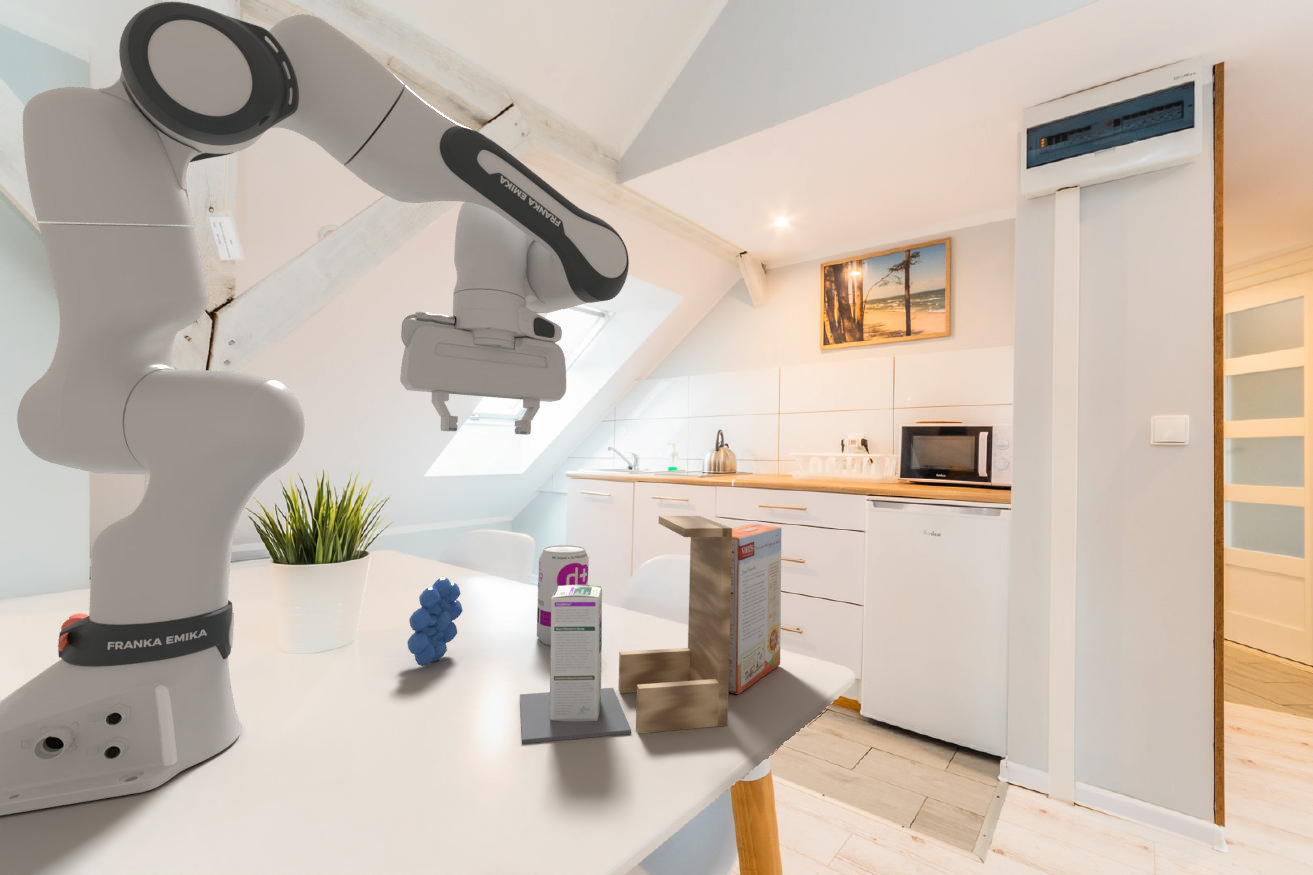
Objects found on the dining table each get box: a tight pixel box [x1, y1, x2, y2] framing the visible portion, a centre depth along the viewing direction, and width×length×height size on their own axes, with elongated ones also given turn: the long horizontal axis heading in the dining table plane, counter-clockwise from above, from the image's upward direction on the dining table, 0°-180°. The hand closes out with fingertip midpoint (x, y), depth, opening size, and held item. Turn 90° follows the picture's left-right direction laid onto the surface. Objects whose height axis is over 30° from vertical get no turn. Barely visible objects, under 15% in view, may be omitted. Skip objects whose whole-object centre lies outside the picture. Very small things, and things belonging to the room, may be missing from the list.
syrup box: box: [549, 584, 603, 721], centre depth 72 cm, size 6×6×14 cm
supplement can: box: [536, 544, 590, 646], centre depth 100 cm, size 8×8×15 cm
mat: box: [519, 687, 632, 744], centre depth 72 cm, size 12×12×1 cm
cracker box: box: [728, 523, 782, 695], centre depth 86 cm, size 14×6×21 cm, turn 145°
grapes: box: [407, 576, 464, 667], centre depth 88 cm, size 12×7×12 cm, turn 167°
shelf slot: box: [617, 515, 733, 734], centre depth 75 cm, size 11×12×23 cm
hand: (487, 432), depth 74 cm, fingers open, 8 cm apart
